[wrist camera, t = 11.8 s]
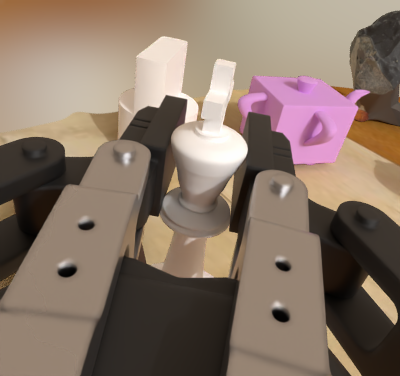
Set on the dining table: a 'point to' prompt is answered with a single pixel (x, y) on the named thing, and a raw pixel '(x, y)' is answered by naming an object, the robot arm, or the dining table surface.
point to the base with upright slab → (156, 81)
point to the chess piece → (201, 179)
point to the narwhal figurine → (378, 69)
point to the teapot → (303, 114)
